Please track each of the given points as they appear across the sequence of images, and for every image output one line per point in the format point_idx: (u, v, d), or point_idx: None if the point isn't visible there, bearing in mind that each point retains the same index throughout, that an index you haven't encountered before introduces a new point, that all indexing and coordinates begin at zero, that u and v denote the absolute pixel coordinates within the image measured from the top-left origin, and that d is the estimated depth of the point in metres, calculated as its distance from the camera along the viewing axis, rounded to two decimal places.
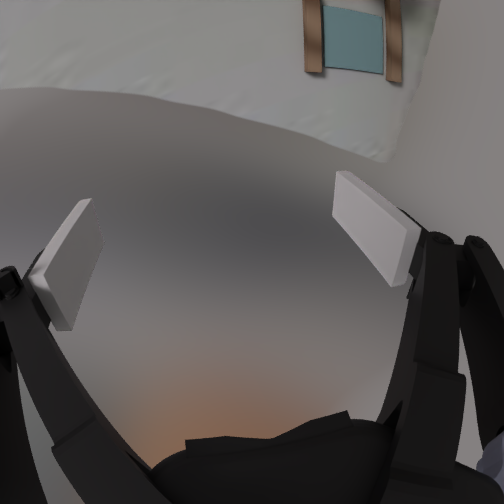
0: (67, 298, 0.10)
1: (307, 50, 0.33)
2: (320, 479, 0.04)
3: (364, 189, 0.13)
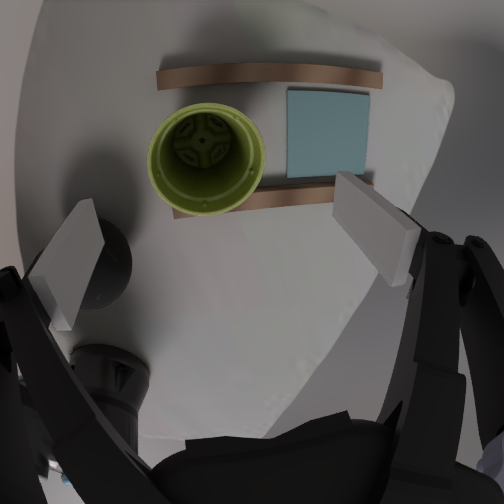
0: (67, 298, 0.10)
1: None
2: (319, 479, 0.04)
3: (364, 189, 0.13)
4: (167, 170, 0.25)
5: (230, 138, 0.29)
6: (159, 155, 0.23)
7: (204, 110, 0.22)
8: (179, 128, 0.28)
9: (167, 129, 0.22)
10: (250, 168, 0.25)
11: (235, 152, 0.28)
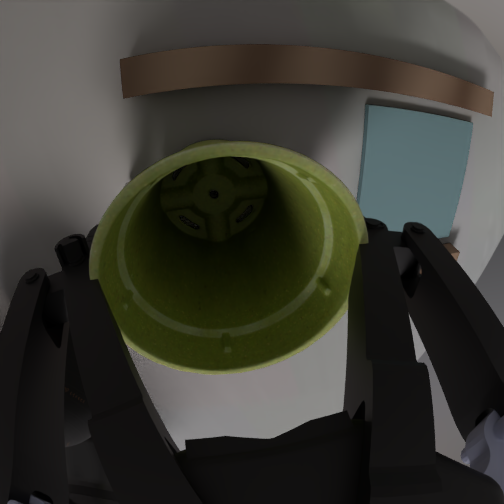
0: None
1: None
2: (320, 479, 0.04)
3: None
4: (147, 275, 0.12)
5: (265, 190, 0.17)
6: (124, 258, 0.10)
7: None
8: None
9: (134, 203, 0.09)
10: (321, 280, 0.12)
11: (278, 223, 0.15)
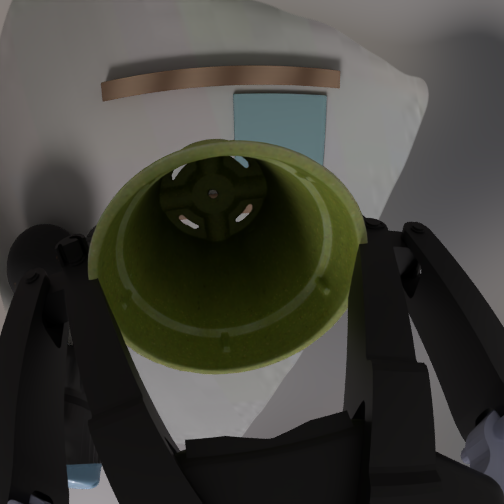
0: None
1: None
2: (319, 479, 0.04)
3: None
4: (146, 275, 0.12)
5: (265, 190, 0.17)
6: (123, 258, 0.10)
7: None
8: None
9: (133, 203, 0.09)
10: (321, 279, 0.12)
11: (278, 222, 0.15)
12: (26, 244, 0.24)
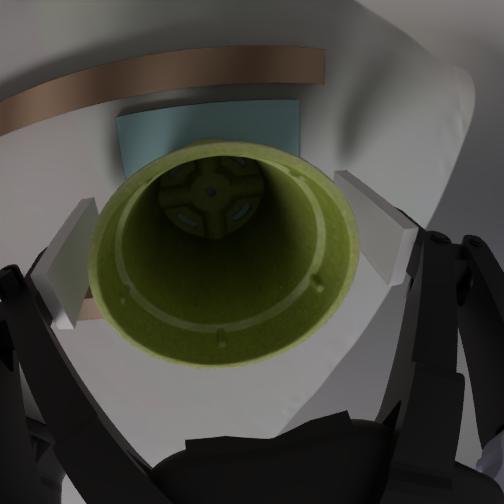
0: (69, 297, 0.10)
1: None
2: (320, 479, 0.04)
3: (362, 188, 0.13)
4: (145, 271, 0.13)
5: (262, 189, 0.17)
6: (121, 254, 0.11)
7: None
8: (168, 169, 0.15)
9: (131, 201, 0.09)
10: (315, 276, 0.12)
11: (274, 221, 0.16)
12: None
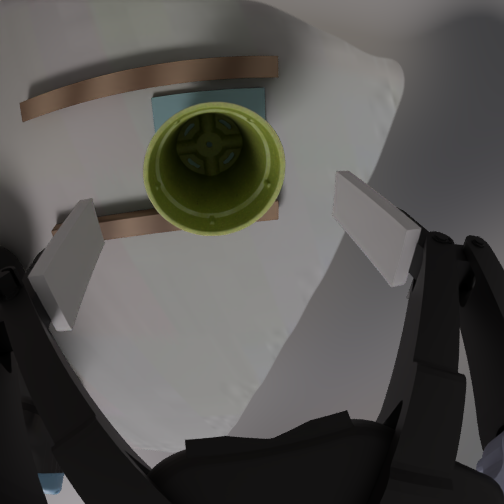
0: (67, 298, 0.10)
1: None
2: (319, 480, 0.04)
3: (364, 189, 0.13)
4: (168, 180, 0.22)
5: (241, 143, 0.26)
6: (158, 163, 0.20)
7: (212, 110, 0.18)
8: (183, 130, 0.24)
9: (168, 133, 0.18)
10: (266, 180, 0.21)
11: (247, 159, 0.25)
12: None
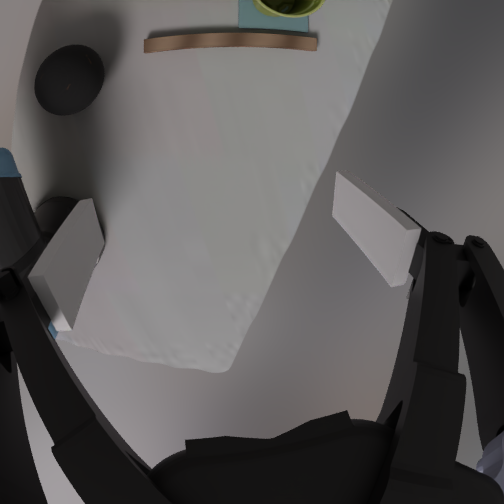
0: (67, 298, 0.10)
1: (294, 48, 0.34)
2: (319, 480, 0.04)
3: (364, 189, 0.13)
4: None
5: (293, 1, 0.30)
6: None
7: None
8: None
9: None
10: (315, 0, 0.26)
11: (299, 4, 0.29)
12: (63, 48, 0.24)
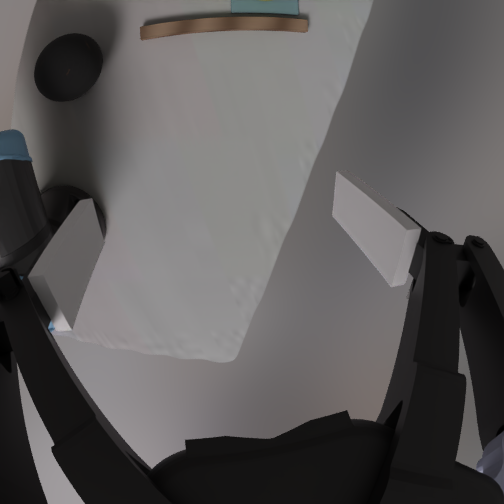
0: (67, 298, 0.10)
1: (286, 29, 0.34)
2: (319, 480, 0.04)
3: (364, 189, 0.13)
4: None
5: None
6: None
7: None
8: None
9: None
10: None
11: None
12: (62, 36, 0.24)
